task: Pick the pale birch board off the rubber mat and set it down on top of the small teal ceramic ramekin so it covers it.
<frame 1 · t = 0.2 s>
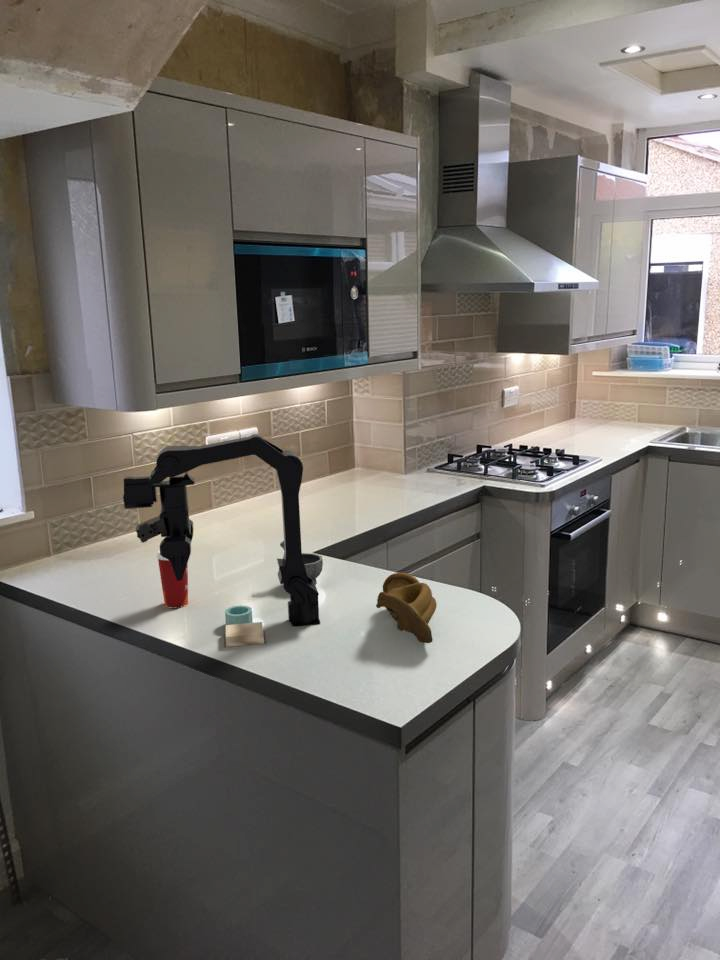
hand: (180, 573, 173), 14 cm above the worktop, tool pointing down, fingers open, 9 cm apart
brown looped sculpture: (407, 629, 176), on the worktop
paper cup: (176, 604, 193), on the worktop
ramekin: (239, 626, 179), on the worktop
mat: (244, 640, 171), on the worktop
board: (244, 638, 171), resting on mat
mortar and pestle: (302, 584, 205), on the worktop
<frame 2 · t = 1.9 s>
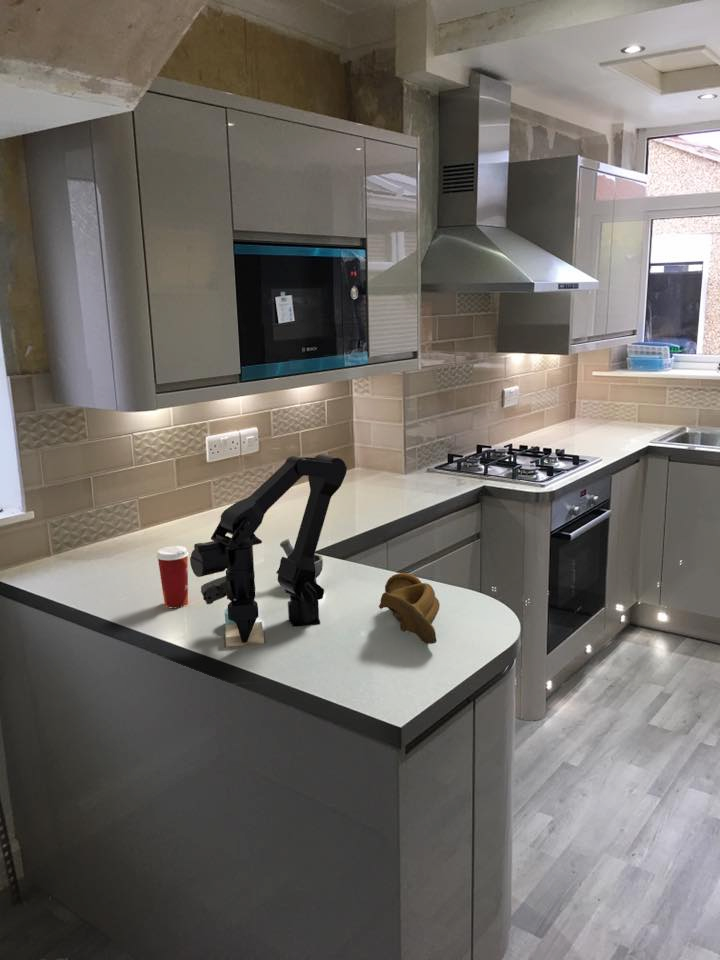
hand: (243, 634, 171), 1 cm above the worktop, tool pointing down, fingers open, 8 cm apart
ramekin: (239, 626, 179), on the worktop, touching gripper
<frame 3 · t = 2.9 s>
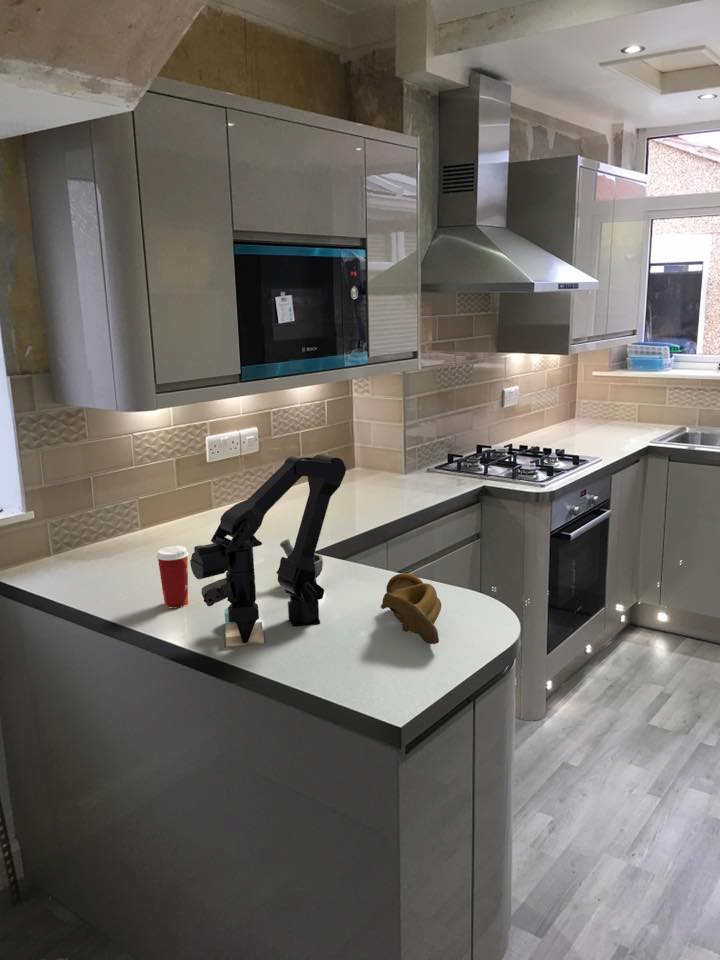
hand: (244, 636, 171), 1 cm above the worktop, tool pointing down, fingers closed on board, 6 cm apart
ramekin: (238, 626, 179), on the worktop
board: (244, 638, 171), resting on mat, touching gripper
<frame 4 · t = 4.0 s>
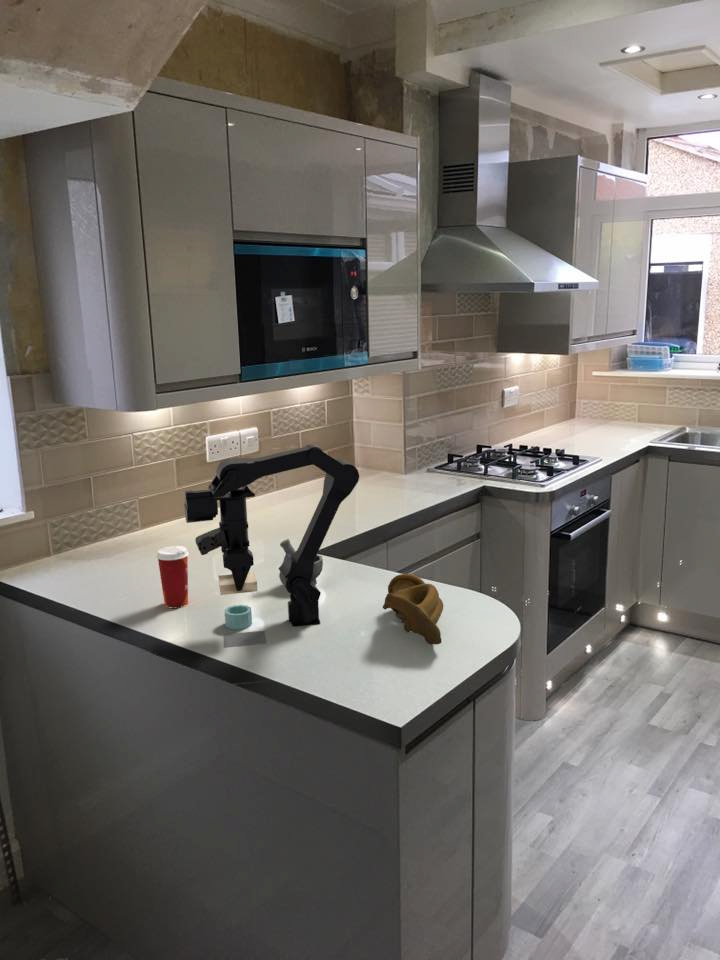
hand: (238, 585, 174), 11 cm above the worktop, tool pointing down, fingers closed on board, 6 cm apart
board: (238, 588, 174), point 10 cm above the worktop, touching gripper
when the fingers open (6 cm above the worktop, at t = 5.7 s): board drops 1 cm, resting on ramekin.
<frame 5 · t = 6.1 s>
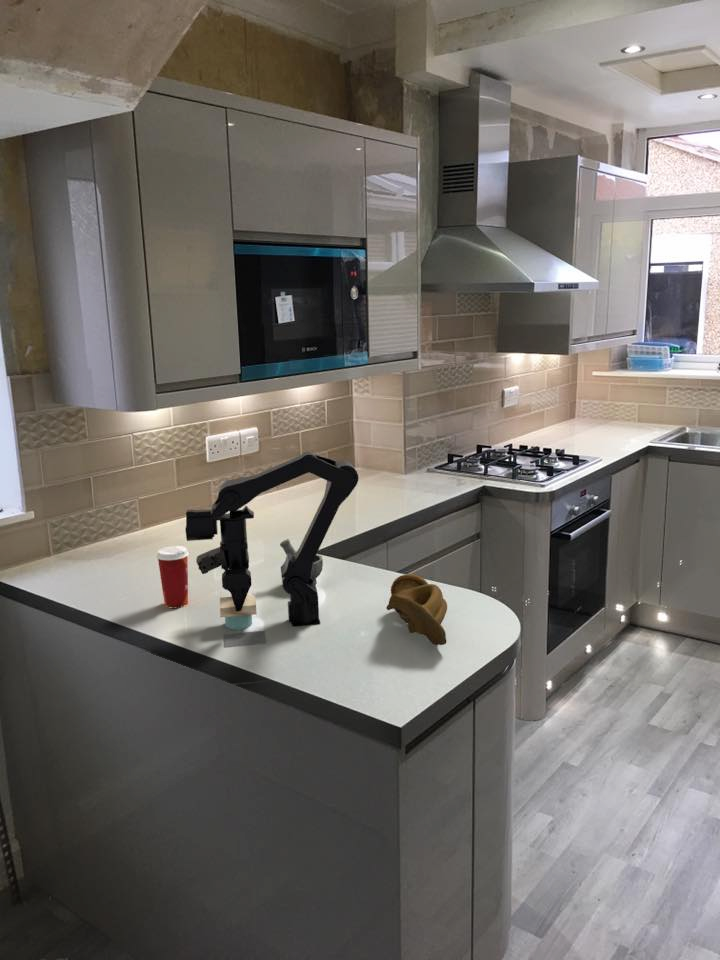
hand: (238, 603, 177), 6 cm above the worktop, tool pointing down, fingers open, 9 cm apart
ramekin: (238, 626, 179), on the worktop, touching board
board: (238, 610, 178), point 4 cm above the worktop, touching ramekin
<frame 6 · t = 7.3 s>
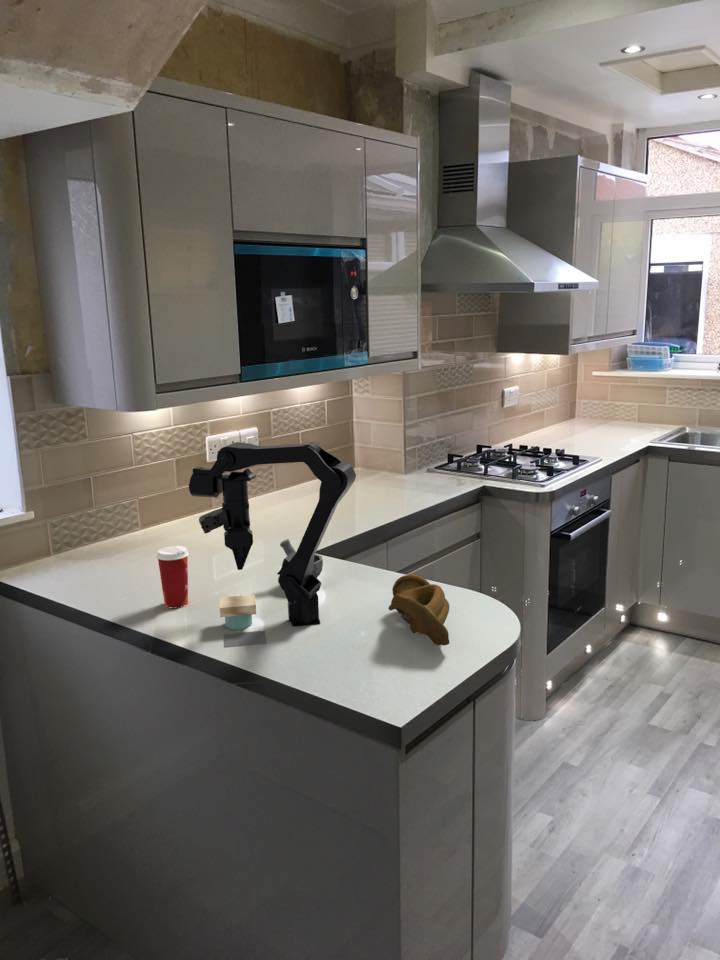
hand: (239, 563, 182), 13 cm above the worktop, tool pointing down, fingers open, 9 cm apart
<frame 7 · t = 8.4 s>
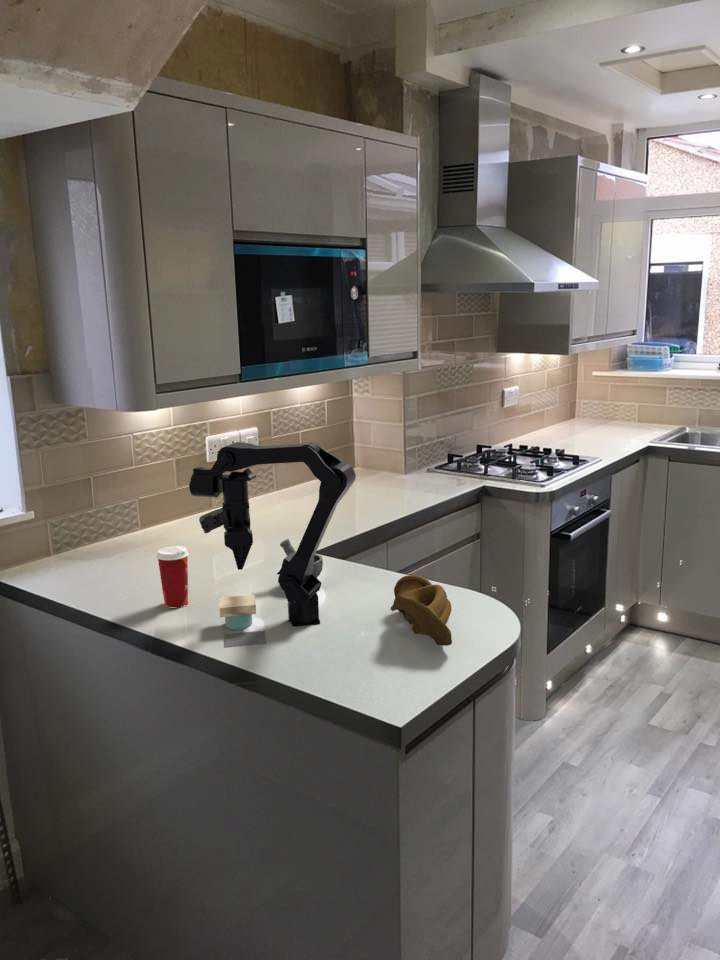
hand: (239, 563, 182), 13 cm above the worktop, tool pointing down, fingers open, 9 cm apart
at the end: board 0.2 cm off-centre on the ramekin, point 4.0 cm above the ramekin's base; board tilted 0°; the gripper is holding nothing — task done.
